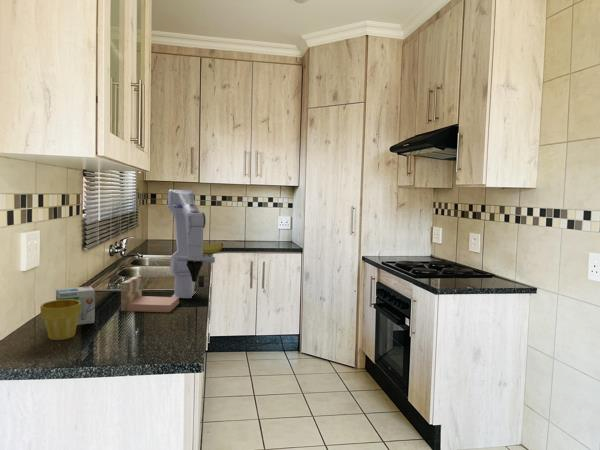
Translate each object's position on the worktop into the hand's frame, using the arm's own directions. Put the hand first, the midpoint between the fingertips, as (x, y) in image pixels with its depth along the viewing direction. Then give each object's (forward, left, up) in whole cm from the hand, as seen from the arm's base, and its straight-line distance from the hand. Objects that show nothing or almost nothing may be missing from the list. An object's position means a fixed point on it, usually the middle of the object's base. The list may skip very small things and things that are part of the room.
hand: (194, 281), depth 167 cm
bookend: (+2, -23, -9) cm, 25 cm away
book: (+4, -14, -10) cm, 18 cm away
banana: (-142, -26, -10) cm, 145 cm away
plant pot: (+39, -29, -10) cm, 50 cm away
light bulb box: (+25, -32, -10) cm, 42 cm away
